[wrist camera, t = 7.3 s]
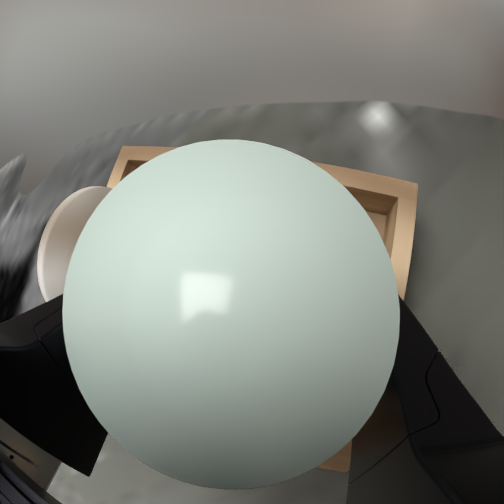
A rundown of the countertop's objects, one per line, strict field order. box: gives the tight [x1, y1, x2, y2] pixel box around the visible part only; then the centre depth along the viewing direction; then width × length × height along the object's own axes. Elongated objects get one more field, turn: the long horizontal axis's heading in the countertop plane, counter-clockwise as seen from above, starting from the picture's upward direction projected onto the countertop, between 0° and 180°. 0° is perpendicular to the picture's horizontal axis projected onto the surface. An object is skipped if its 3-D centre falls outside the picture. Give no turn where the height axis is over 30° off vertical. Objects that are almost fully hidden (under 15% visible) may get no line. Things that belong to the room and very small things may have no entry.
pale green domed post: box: [62, 140, 400, 489], centre depth 9 cm, size 6×6×11 cm
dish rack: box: [37, 146, 418, 473], centre depth 14 cm, size 15×18×9 cm
